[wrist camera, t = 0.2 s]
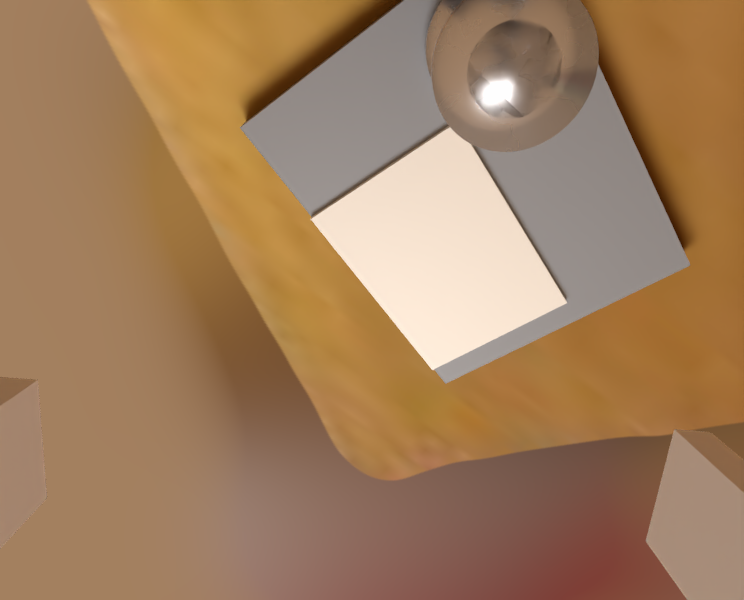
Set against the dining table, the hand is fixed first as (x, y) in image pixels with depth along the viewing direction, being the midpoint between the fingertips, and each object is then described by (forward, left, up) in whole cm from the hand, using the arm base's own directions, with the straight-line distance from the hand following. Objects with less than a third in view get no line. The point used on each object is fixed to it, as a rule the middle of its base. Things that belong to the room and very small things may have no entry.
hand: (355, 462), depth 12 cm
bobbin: (-7, -1, -26) cm, 27 cm away
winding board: (-2, +7, -27) cm, 28 cm away
